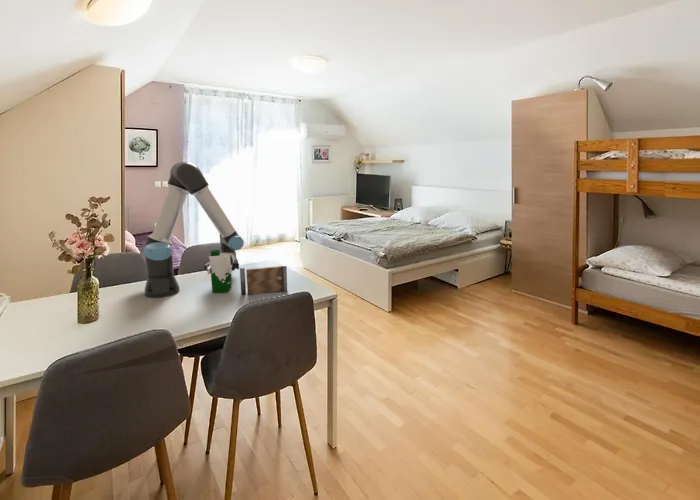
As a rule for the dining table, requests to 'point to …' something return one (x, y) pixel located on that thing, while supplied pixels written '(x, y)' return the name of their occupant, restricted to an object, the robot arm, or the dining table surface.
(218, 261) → the soya milk
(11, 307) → the dining table surface
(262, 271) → the door
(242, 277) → the door frame
